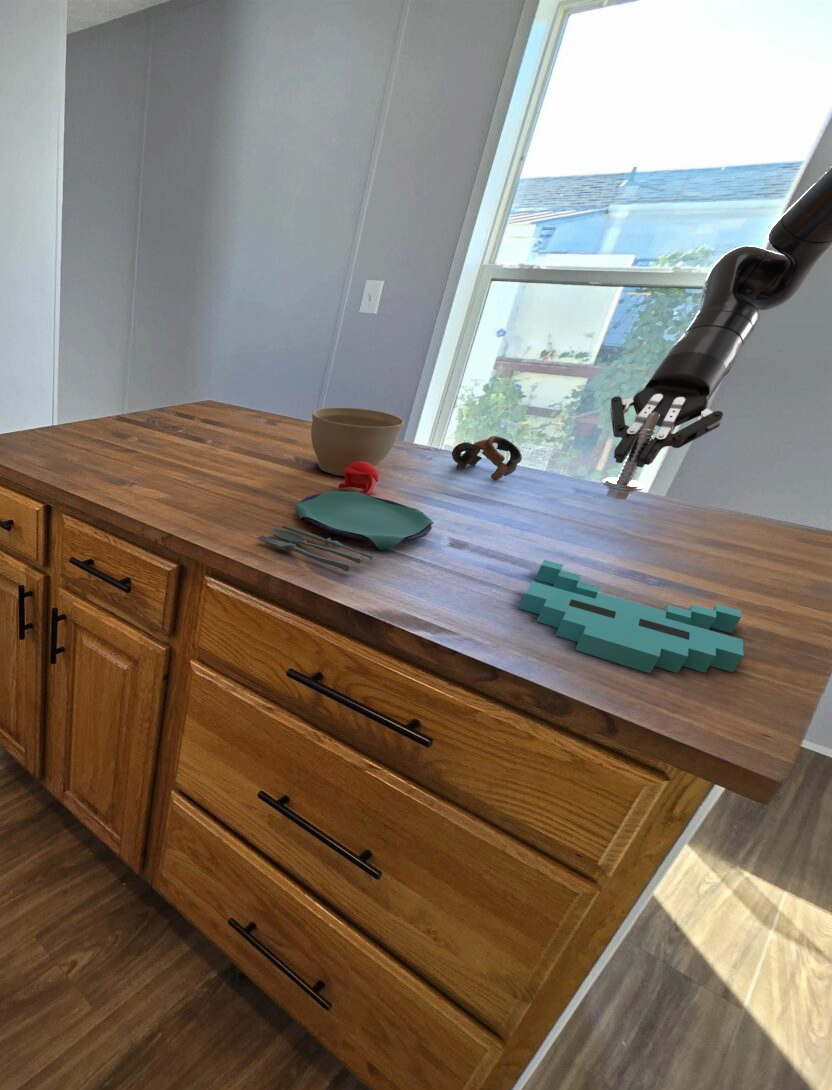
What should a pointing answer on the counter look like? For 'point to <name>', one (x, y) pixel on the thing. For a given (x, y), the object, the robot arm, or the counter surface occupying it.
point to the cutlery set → (352, 524)
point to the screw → (632, 463)
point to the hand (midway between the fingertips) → (629, 461)
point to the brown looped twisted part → (488, 455)
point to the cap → (361, 477)
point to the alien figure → (633, 626)
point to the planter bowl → (352, 437)
